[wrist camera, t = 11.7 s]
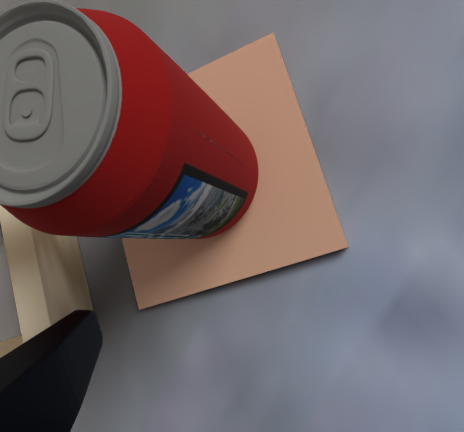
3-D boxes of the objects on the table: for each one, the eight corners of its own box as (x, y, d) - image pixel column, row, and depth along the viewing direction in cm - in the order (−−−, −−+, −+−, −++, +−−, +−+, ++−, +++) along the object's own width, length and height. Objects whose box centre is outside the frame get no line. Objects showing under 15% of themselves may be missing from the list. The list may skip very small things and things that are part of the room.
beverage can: (146, 237, 22) (-84, 231, 10) (152, 122, 22) (-63, -6, 11) (261, 242, 20) (130, 240, 8) (265, 114, 20) (146, -55, 9)
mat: (348, 247, 19) (347, 247, 18) (144, 308, 22) (139, 309, 22) (275, 38, 21) (273, 32, 20) (98, 122, 24) (92, 119, 24)
